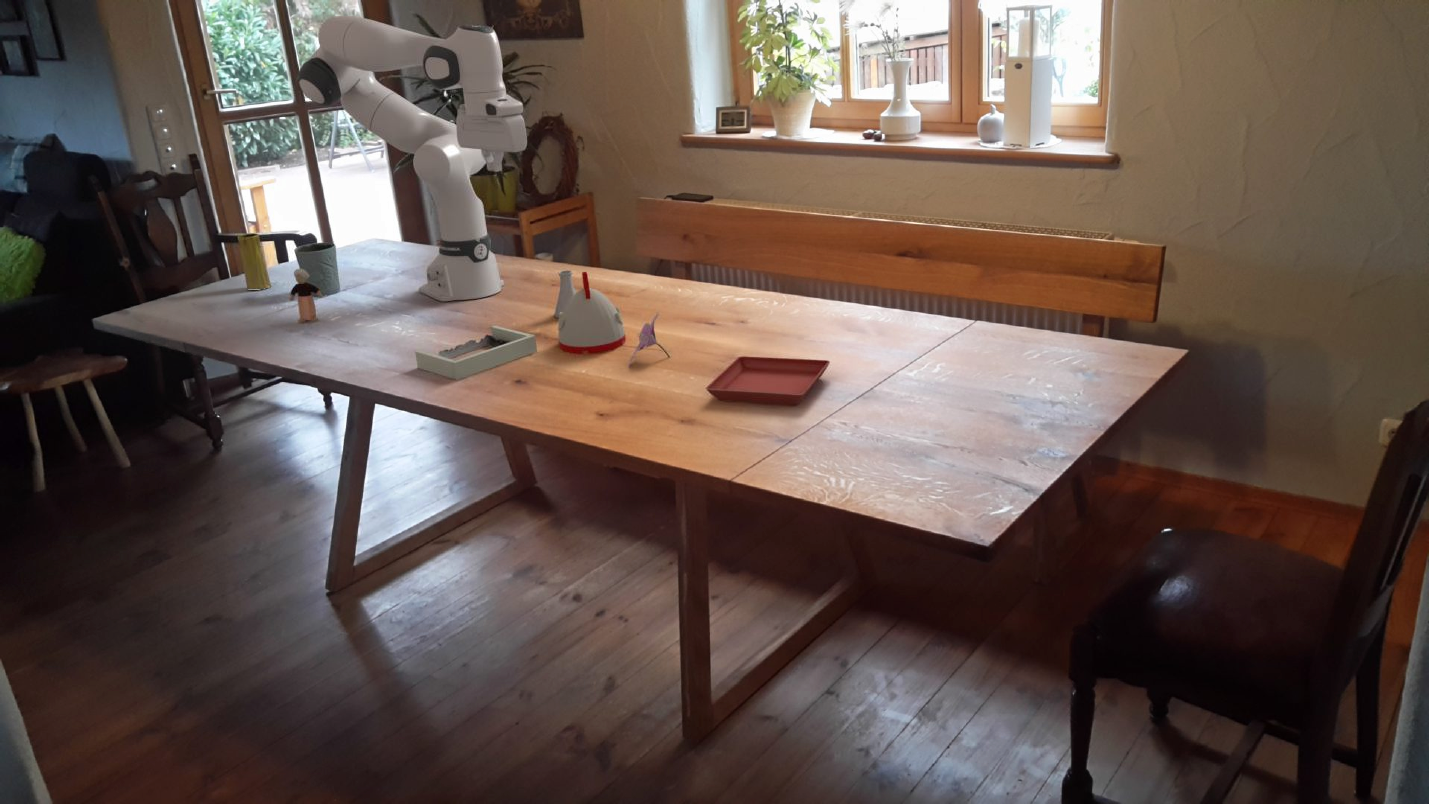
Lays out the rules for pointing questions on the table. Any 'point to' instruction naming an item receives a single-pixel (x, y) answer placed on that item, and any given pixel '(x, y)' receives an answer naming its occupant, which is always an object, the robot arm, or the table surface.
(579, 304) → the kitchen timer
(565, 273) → the flask
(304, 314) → the grandmother figurine
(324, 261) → the green plant pot
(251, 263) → the vase
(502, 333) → the frame
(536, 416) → the table surface
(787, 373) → the plant saucer
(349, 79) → the robot arm
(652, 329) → the lily
